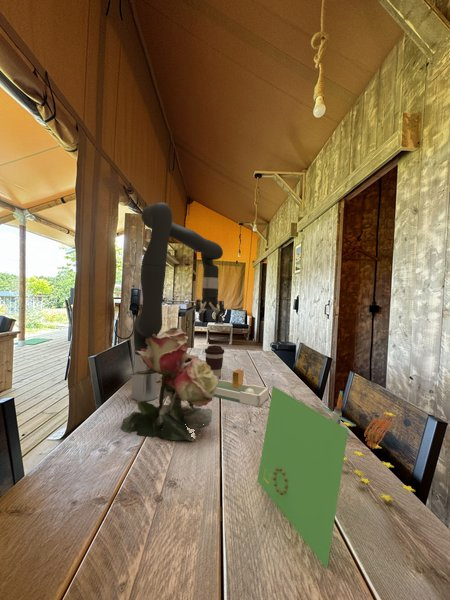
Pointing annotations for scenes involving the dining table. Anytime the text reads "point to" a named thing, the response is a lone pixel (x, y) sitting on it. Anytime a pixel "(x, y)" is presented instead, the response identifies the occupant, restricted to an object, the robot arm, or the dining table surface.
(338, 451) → the green panel with ring
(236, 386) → the orange upright block
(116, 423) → the dining table surface
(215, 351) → the coffee cup
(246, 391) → the ball
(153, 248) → the robot arm
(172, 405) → the rose bouquet
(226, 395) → the cream tray
